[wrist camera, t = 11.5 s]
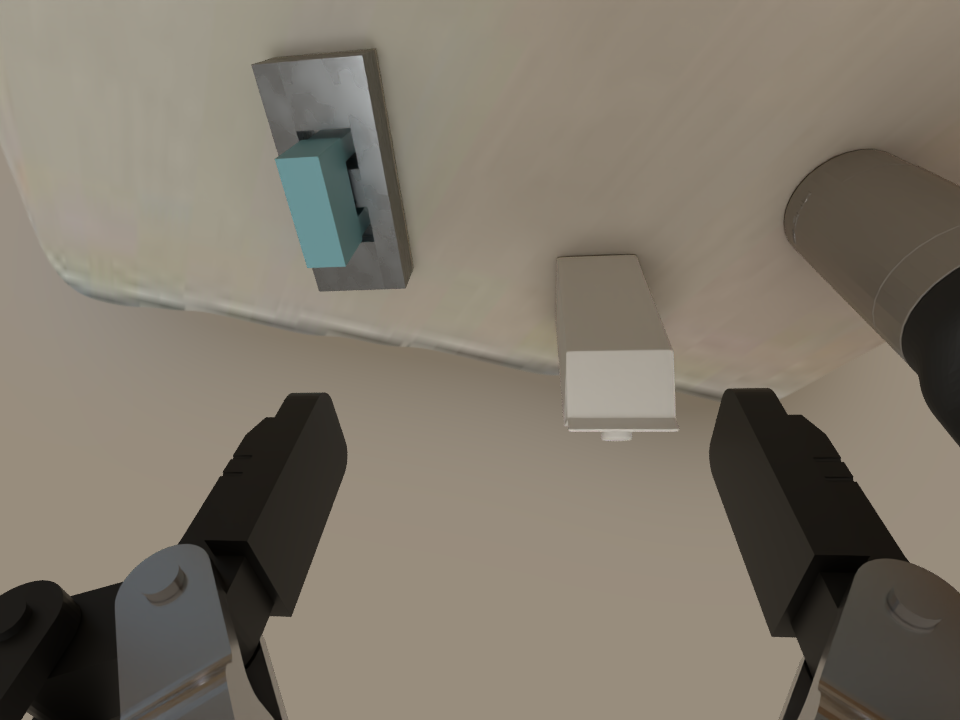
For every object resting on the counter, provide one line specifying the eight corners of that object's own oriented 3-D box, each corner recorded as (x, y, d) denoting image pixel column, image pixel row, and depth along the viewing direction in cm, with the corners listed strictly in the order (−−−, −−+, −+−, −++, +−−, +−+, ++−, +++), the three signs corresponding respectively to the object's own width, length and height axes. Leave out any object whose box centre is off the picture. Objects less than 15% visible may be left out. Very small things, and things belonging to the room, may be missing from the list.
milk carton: (556, 256, 47) (570, 389, 32) (636, 253, 47) (688, 388, 31) (555, 321, 52) (567, 466, 36) (628, 320, 51) (671, 467, 36)
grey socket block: (273, 57, 39) (251, 64, 36) (376, 48, 38) (362, 55, 35) (332, 271, 50) (319, 291, 47) (413, 267, 49) (405, 288, 46)
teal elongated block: (318, 127, 42) (274, 159, 34) (354, 124, 41) (318, 156, 34) (341, 222, 46) (307, 267, 39) (374, 221, 46) (345, 266, 39)
